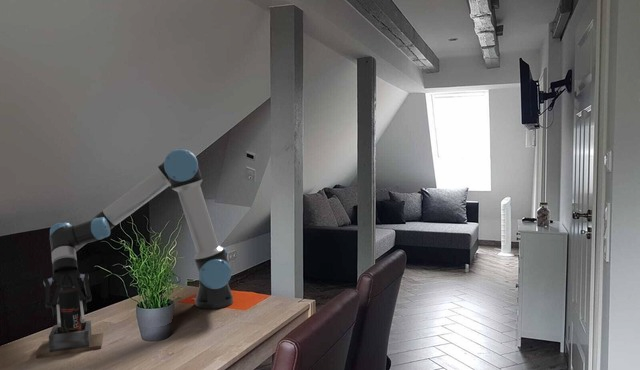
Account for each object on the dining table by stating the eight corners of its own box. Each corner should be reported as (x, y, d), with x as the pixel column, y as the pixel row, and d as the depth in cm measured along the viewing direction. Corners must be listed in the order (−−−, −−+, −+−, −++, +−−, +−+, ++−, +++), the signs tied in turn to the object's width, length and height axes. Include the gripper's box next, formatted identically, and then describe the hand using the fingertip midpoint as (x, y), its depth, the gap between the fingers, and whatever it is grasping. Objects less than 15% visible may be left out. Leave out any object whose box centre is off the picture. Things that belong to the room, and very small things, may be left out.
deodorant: (72, 340, 153) (70, 293, 152) (56, 339, 154) (53, 292, 153) (85, 333, 158) (83, 288, 158) (69, 332, 160) (67, 287, 159)
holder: (103, 335, 165) (102, 318, 165) (101, 348, 154) (100, 329, 154) (43, 344, 159) (41, 326, 158) (36, 358, 147) (35, 338, 147)
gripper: (94, 265, 173) (103, 323, 160) (32, 272, 163) (36, 335, 150) (95, 252, 168) (104, 311, 155) (32, 259, 158) (36, 322, 145)
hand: (71, 322), depth 153 cm, fingers closed on deodorant, 6 cm apart
